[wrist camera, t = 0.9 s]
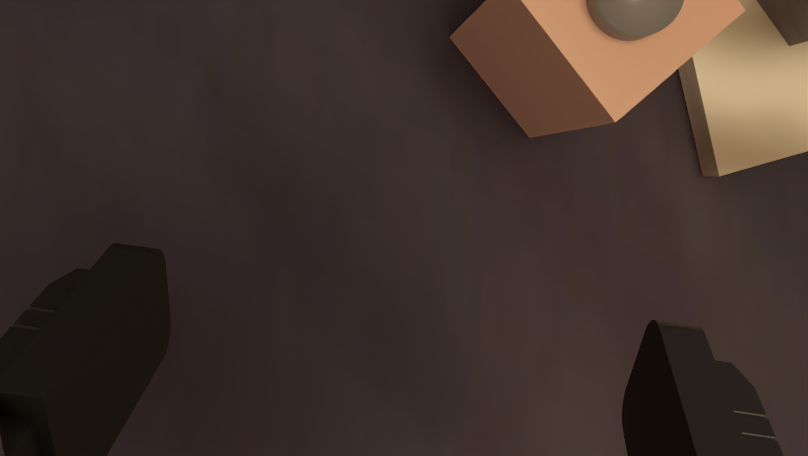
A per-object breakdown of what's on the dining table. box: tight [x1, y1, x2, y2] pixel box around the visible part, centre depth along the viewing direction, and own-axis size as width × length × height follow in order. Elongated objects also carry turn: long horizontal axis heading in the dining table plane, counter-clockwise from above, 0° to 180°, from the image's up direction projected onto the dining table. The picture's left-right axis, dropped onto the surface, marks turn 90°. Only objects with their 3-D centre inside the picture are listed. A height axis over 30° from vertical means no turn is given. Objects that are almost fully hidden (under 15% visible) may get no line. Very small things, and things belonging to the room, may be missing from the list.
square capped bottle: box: [449, 0, 745, 138], centre depth 30 cm, size 6×6×11 cm
